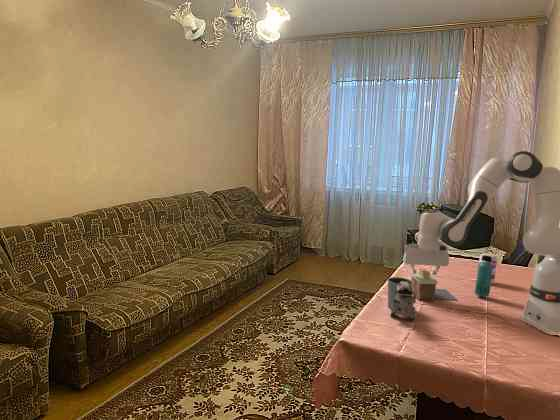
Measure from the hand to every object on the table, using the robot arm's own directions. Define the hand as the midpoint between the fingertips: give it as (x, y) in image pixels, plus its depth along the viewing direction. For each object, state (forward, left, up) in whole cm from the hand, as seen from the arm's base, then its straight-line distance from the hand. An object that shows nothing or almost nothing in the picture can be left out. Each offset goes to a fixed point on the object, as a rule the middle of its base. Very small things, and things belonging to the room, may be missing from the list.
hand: (424, 273), depth 203 cm
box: (-1, 0, -10) cm, 10 cm away
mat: (+2, -10, -10) cm, 15 cm away
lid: (-1, 0, -2) cm, 2 cm away
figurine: (-30, +18, -11) cm, 36 cm away
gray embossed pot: (-17, +16, -11) cm, 25 cm away
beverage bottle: (+1, -29, -11) cm, 31 cm away
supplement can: (+24, -42, -11) cm, 50 cm away
